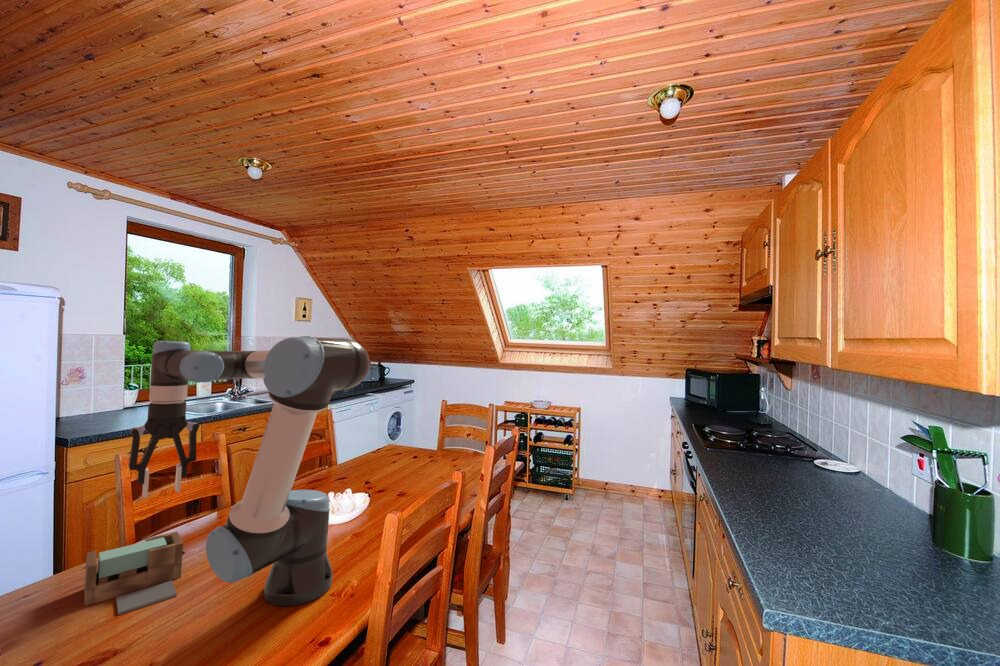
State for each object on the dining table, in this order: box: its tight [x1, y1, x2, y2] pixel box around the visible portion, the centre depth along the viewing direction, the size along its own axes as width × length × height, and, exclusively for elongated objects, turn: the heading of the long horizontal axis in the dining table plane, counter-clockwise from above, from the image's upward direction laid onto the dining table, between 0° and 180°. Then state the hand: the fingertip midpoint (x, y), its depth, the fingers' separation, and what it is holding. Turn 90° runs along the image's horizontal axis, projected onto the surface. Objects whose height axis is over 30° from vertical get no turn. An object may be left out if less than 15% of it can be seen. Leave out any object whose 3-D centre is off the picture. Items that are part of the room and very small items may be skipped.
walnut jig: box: [83, 531, 184, 607], centre depth 99 cm, size 17×8×8 cm, turn 136°
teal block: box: [97, 537, 167, 579], centre depth 99 cm, size 12×5×4 cm, turn 136°
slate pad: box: [115, 580, 178, 616], centre depth 94 cm, size 7×10×1 cm
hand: (161, 493), depth 103 cm, fingers open, 6 cm apart
